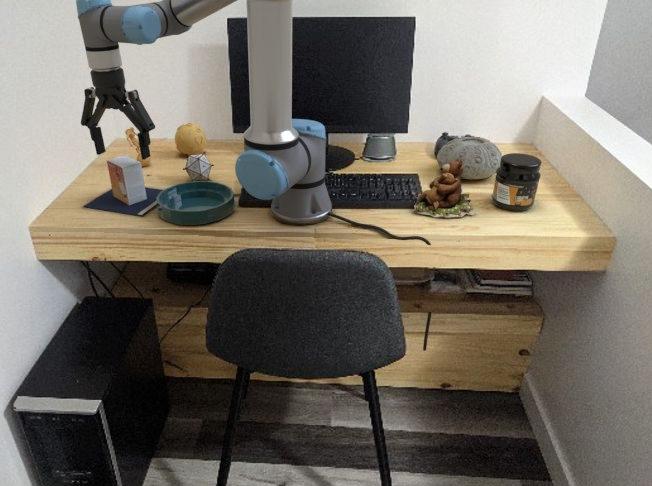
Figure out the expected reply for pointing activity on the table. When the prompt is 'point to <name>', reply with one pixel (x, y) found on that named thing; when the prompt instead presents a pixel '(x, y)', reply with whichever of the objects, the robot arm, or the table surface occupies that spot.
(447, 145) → the decorative shell
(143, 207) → the book
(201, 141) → the stress ball
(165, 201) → the bowl
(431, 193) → the bear figurine
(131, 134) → the figurine
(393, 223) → the table surface
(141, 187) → the small box
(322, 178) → the robot arm
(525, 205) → the supplement container
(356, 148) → the table surface
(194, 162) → the game die
